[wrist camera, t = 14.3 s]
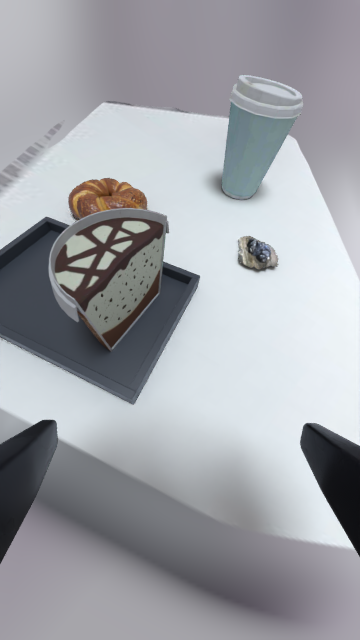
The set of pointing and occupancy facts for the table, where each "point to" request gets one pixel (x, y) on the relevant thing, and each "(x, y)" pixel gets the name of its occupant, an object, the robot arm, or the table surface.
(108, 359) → the tray
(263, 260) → the crystal geode
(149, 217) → the food container
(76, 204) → the pretzel
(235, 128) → the disposable coffee cup
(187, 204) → the table surface
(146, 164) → the table surface
